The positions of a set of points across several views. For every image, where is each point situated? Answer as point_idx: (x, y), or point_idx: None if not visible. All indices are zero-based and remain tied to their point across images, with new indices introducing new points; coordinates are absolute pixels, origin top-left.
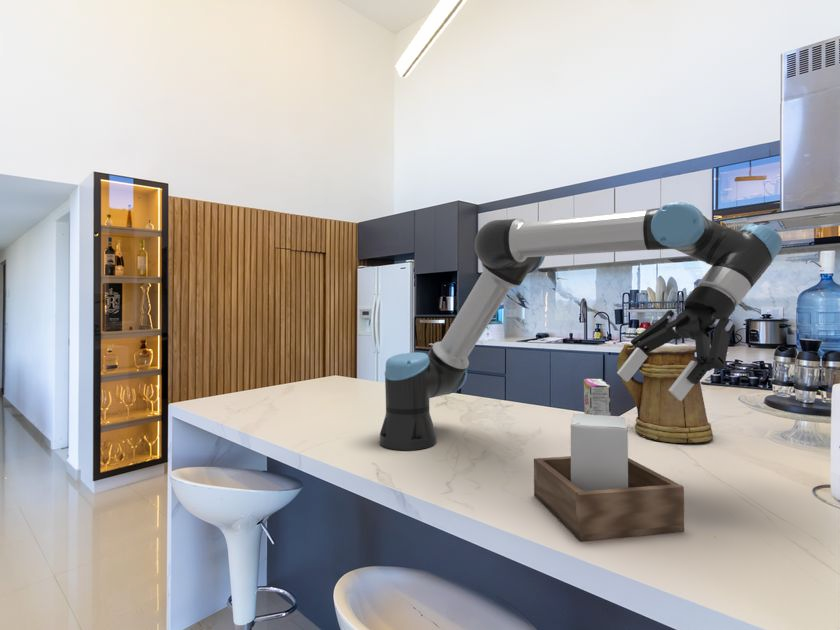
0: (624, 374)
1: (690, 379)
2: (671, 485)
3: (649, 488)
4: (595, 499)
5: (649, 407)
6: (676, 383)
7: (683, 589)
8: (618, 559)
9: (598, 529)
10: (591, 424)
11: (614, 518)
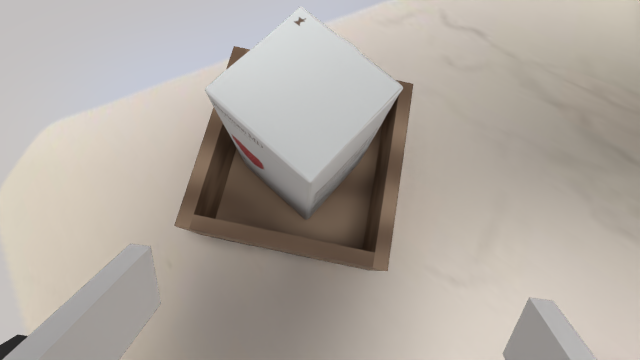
0: (527, 337)
1: (22, 337)
2: (189, 209)
3: (199, 161)
4: None
5: None
6: (102, 275)
7: (113, 114)
8: (192, 98)
9: None
10: (274, 40)
11: None
